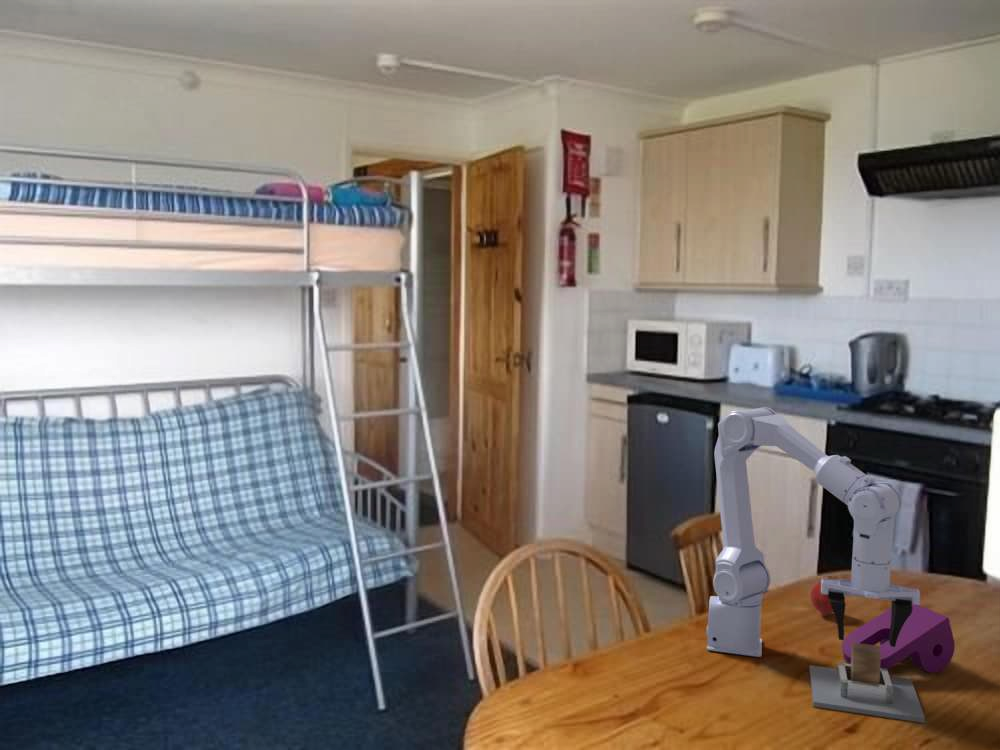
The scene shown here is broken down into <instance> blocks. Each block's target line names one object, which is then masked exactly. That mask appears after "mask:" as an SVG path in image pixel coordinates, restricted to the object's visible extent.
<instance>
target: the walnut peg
mask: <svg viewBox="0 0 1000 750" xmlns="http://www.w3.org/2000/svg"><path fill="white" fill-rule="evenodd" d="M879 646H880V645H876V644H875V645H869V644H861V643H854V642H852V651H851V668H850V680H851V681H858V682H865V683H873V684H879V679H880V663H881V654H880V650H879Z"/></svg>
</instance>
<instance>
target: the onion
mask: <svg viewBox="0 0 1000 750" xmlns="http://www.w3.org/2000/svg"><path fill="white" fill-rule="evenodd" d="M822 579H830V578H829V577H827V576H825V577H823V578H822ZM809 597H810V602H811V604H812V606H813V607H814V608H815V609H816V610H817V611H818V612H819V613H820V614H821V615H822V616H826V617H827V616H829V615H830V614H832V613H834V612H833V609H832V607H831V605H830V602H829V598H828V594H822V593H821V581H819V582H817V583H816V584H815V585H814V586H813V588H812V589H811V591H810V595H809Z"/></svg>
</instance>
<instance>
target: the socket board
mask: <svg viewBox="0 0 1000 750" xmlns="http://www.w3.org/2000/svg"><path fill="white" fill-rule="evenodd" d="M850 668H851V664H847V663H846V662H837V668H832V667H825V666H817V665H809V678H810V687H811V690H810V691H811V698H812V707H814V708H820V709H825V710H832V711H833V710H835V711H840V712H848V713H854V714H855V713H856V714H860V715H868V716H875V717H881V718H886V719H887V718H888V719H894V720H895V719H896V720H902V721H907V722H915V723H922V724H925V723H926V718H925V714H924V711H923V709H922V708H923V707H922V706H921V704H920V703H921V702H920V700H919V697H918V694H917V692H916V689H915V686H914V684H913V681H912V678H906V677H900V676H899V677H898V676H891V675H890V673H889V672H888V671H889V670H888V669H884V668H880V679H879V684H873V683H865V682H858V681H851V680H850Z"/></svg>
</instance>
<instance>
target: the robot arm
mask: <svg viewBox="0 0 1000 750" xmlns="http://www.w3.org/2000/svg"><path fill="white" fill-rule="evenodd" d="M717 429H718V437H717V441H716V444H715V446H714V452H713V453H714V455H713V456H714V464H715V473H716V475H715V476H716V482H717V493H718V503H719V512H720V522H721V523H720V524H721V533H722V542H723V549H722V551H721V552H719V555H718V557H717V558H716V559H715V561H714V563H715V571H714V575H713V578H712V579H713V580H712V585H713V588H714V592H715V593H716V595H717V596H715V595H711V596H709V605H708V617H707V618H708V620H707V621H708V622H707V625H706V633H705V634H706V636H707V644H706V645H707V646H706V650H707V651H710V652H711V651H712V652H720V653H727V654H734V655H741V656H748V657H755V658H762V653H763V638H761V626H762V625H761V622H762V600H763V598H764V592H766V591H767V590H768V589H769V588H770V585H771V574H770V573H771V572H770V571H769V569H768V567H767V565H766V562H765V556H764V553H763V552H762V551H761V550H760V549H759V548H757V546H756V544H755V535H754V534H755V533H754V527H753V526H754V525H753V517H752V516H753V515H752V505H751V496H750V485H749V478H748V477H749V476H748V475H749V474H748V468H747V467H748V466H747V460H748V459H749V458H750V457H751V456H752V455H753V454H754V453H755V451H756V450H757V449H758V448H761V446H762V447H764V446H765V447H766V446H767V447H777V449H780V450H782V451H783V452H784V453H785V454H787V455H788V456H790V457H792V458H793V459H794V460H796V461H798V462H799V463H800V464H802V465H803V466H806V467H807V468H808V469H810V470H811V471H813V473H814V477H815V482H816V483H817V484H818V485H820V486H821V487H822V488H824V489H826V490H827V491H828V492H829V493H831V495H833V496H834V497H835V498H837V499H839V501H841V502H842V503H843V504H845V505H846V506H847V510H848V511H849V514H850V516H851V517H852V518H853V541H852V556H851V572H850V579H830V578H829V579H823V578H821V580H820V582H821V593H822V594H828V598H829V602H830V605H831V607H832V609H833V612H832V613H833V615H834V617H835V620H836V625H837V637H838V639H839V640H840V641H843V640H844V639H845V624H844V623H845V611H846V597H845V596H851V597H858V598H865V599H866V598H868V599H877V600H883V601H884V600H885V601H891V607H892V611H891V626H890V633H889V643H890V646H892V647H895V646H896V641H897V638H898V635H899V633H900V631H901V629H902V627H903V625H904V623H905V621H906V620H907V619H908V617H909V616H910V615H911V613H912V610H913V607H912V604H915V605H920V603H921V602H920V601H921V591H920V590H919V588H918V589H917V588H911V587H905V586H901V585H895V584H892V583H891V584H890V582H891V567H892V565H891V564H892V563H891V562H892V552H893V537H894V536H893V535H894V520H895V519H894V518H893V517H895V516H896V515H898V514H899V512H900V511H901V508H902V499H901V498H902V497H901V495H900V494H899V492H898V491H897V489H896V488H894V486H893V485H892V484H891V483H889V482H885V481H879V482H878V481H876V480H875V479H876V478H875V477H874V476H872V475H871V474H870V475H867V474H865V472H863V471H862V470H860V469H859V468H858V467H856V466H854V465H853V464H851V461H852V459H850V458H849V457H847V456H846V455H843V456H840V455H839V454H834V455H827V454H826V453H825V452H823V451H822V450H821V449H820V448H818V447H817V446H816V445H815V444H813V443H812V441H810V440H808V438H806V437H805V436H804V435H802V434H801V433H800V432H799V431H797V430H796V428H794V427H793V426H792V425H790V423H788V421H787V420H786V418H785V417H784V416H783V415H781V414H778V413H777V412H776V411H774V410H773V408H770V407H767V406H762V407H758V408H751V409H744V410H732V411H729V412H728V413H727V414H726V415H725V416H723V418H722V419H721V420H720V421H719V422H718V423H717Z"/></svg>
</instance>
